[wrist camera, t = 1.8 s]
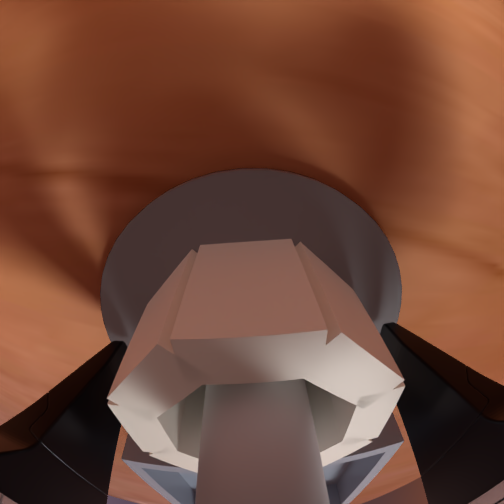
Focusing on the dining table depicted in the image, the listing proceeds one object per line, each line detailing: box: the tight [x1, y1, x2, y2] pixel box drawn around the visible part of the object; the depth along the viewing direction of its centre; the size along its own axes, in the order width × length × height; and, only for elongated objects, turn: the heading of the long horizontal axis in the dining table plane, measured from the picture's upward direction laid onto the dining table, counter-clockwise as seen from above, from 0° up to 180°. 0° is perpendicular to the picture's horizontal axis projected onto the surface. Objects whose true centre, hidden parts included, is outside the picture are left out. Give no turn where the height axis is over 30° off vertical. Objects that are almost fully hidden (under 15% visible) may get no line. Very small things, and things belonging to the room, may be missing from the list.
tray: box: [122, 413, 404, 504], centre depth 14 cm, size 14×14×3 cm
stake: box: [100, 168, 402, 504], centre depth 7 cm, size 11×11×7 cm
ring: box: [107, 239, 405, 473], centre depth 8 cm, size 7×9×4 cm
